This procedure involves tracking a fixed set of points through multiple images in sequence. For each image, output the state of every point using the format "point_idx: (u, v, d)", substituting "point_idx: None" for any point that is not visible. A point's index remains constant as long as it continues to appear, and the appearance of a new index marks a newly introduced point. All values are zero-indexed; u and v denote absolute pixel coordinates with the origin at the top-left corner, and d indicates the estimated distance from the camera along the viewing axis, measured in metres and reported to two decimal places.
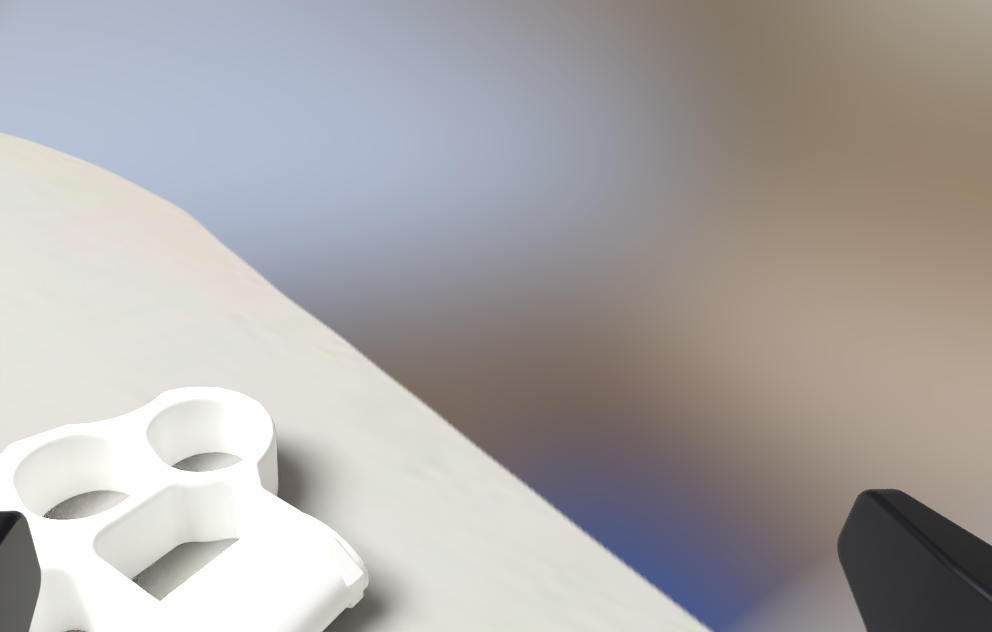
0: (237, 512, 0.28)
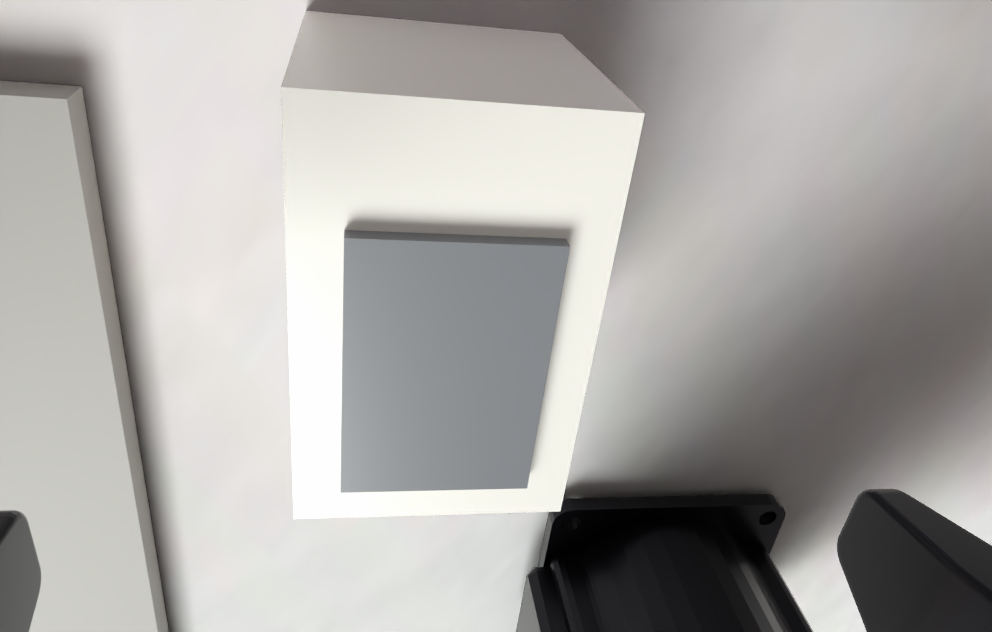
0: None
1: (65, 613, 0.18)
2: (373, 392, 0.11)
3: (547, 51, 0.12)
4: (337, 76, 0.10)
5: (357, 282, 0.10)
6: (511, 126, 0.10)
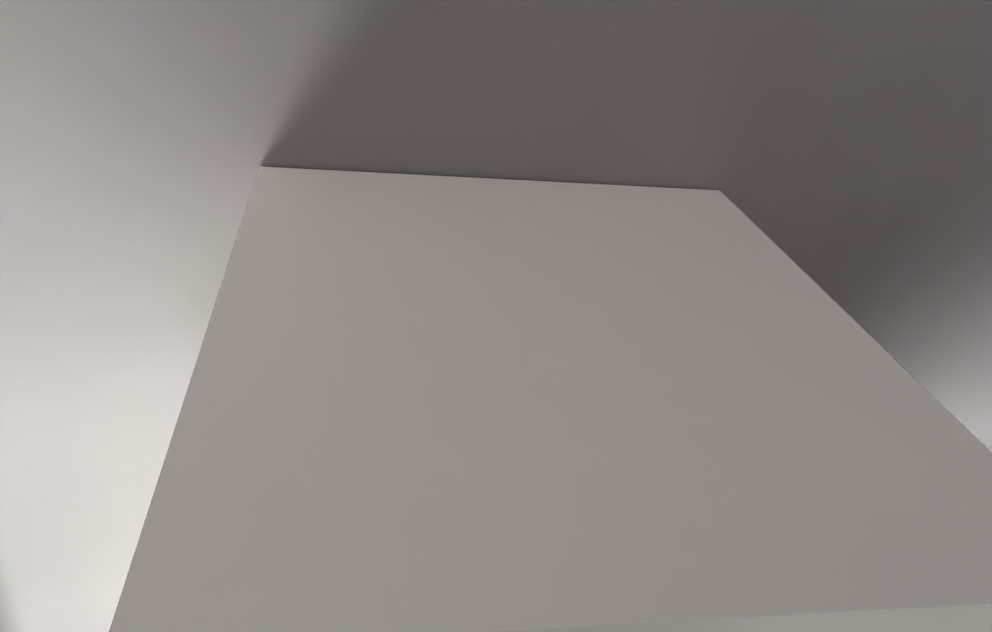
0: None
1: None
2: None
3: (735, 267, 0.06)
4: (295, 511, 0.03)
5: None
6: None
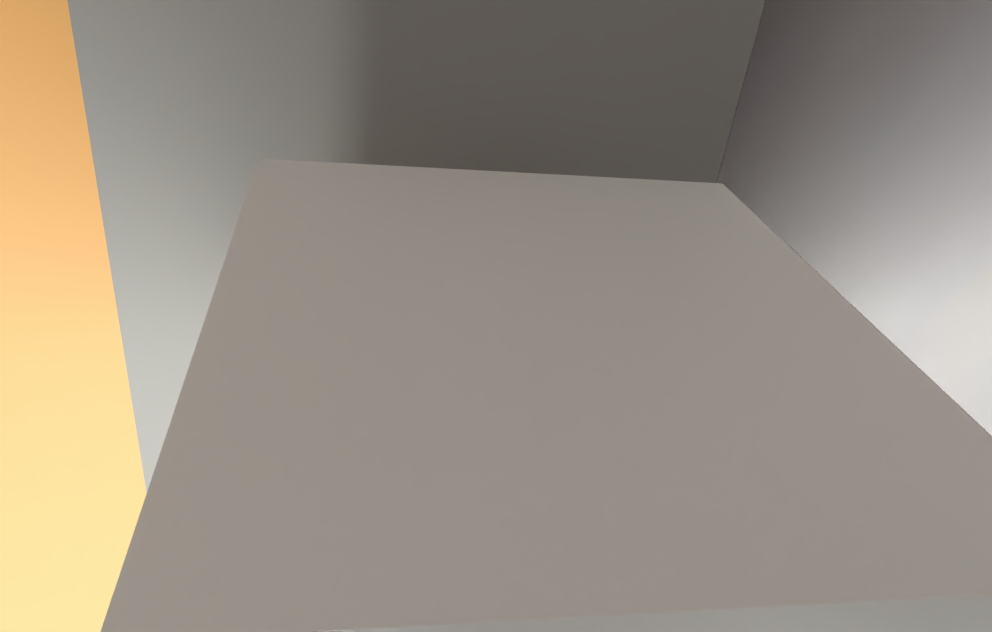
0: None
1: None
2: None
3: (738, 259, 0.06)
4: (295, 501, 0.03)
5: None
6: None
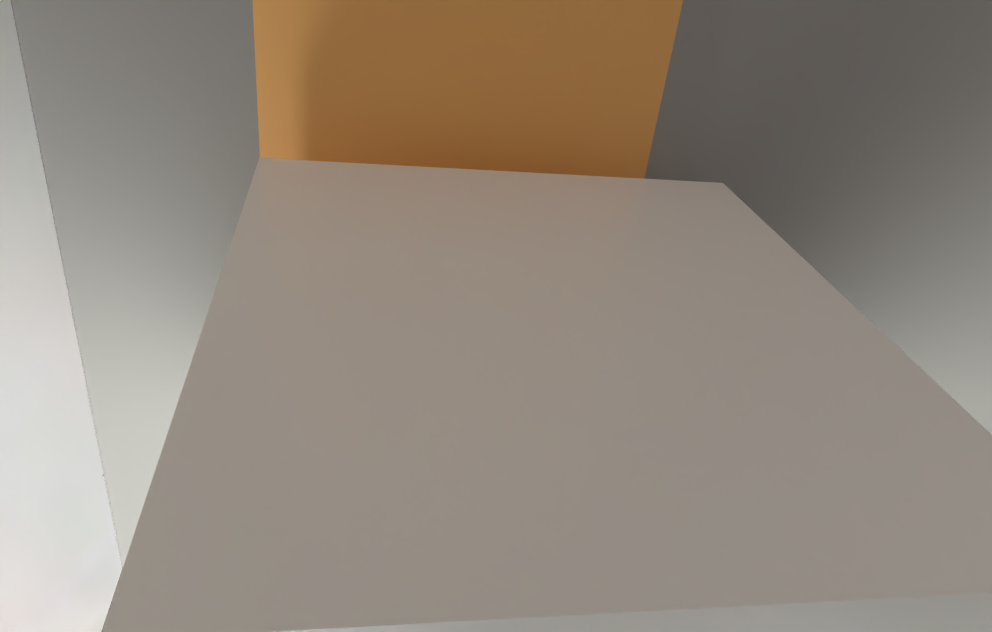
0: None
1: None
2: None
3: (738, 258, 0.06)
4: (295, 498, 0.03)
5: None
6: None
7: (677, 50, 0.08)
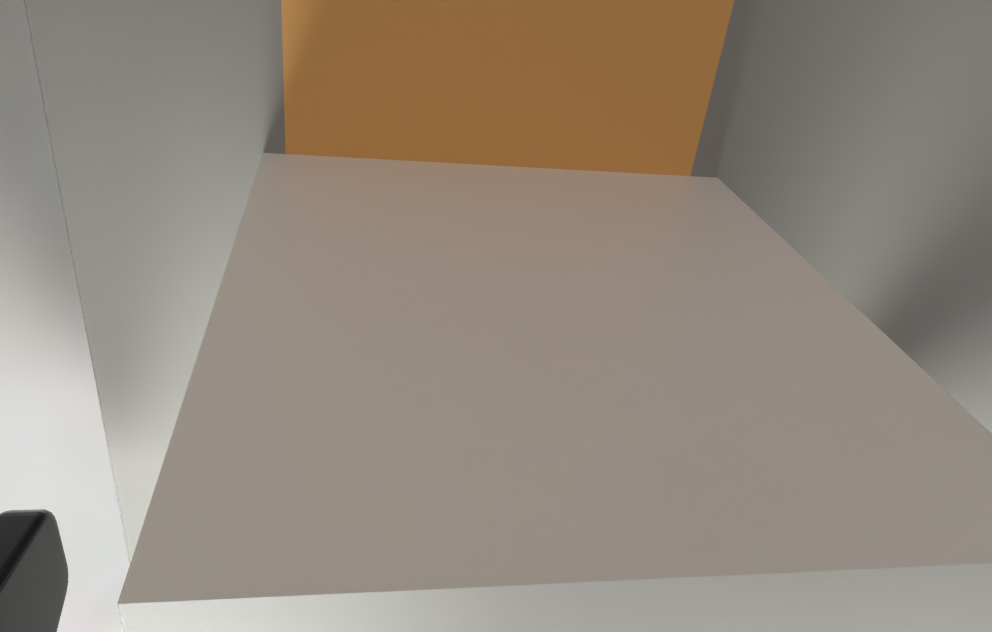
0: None
1: None
2: None
3: (731, 250, 0.06)
4: (303, 476, 0.04)
5: None
6: (780, 615, 0.04)
7: (724, 61, 0.07)
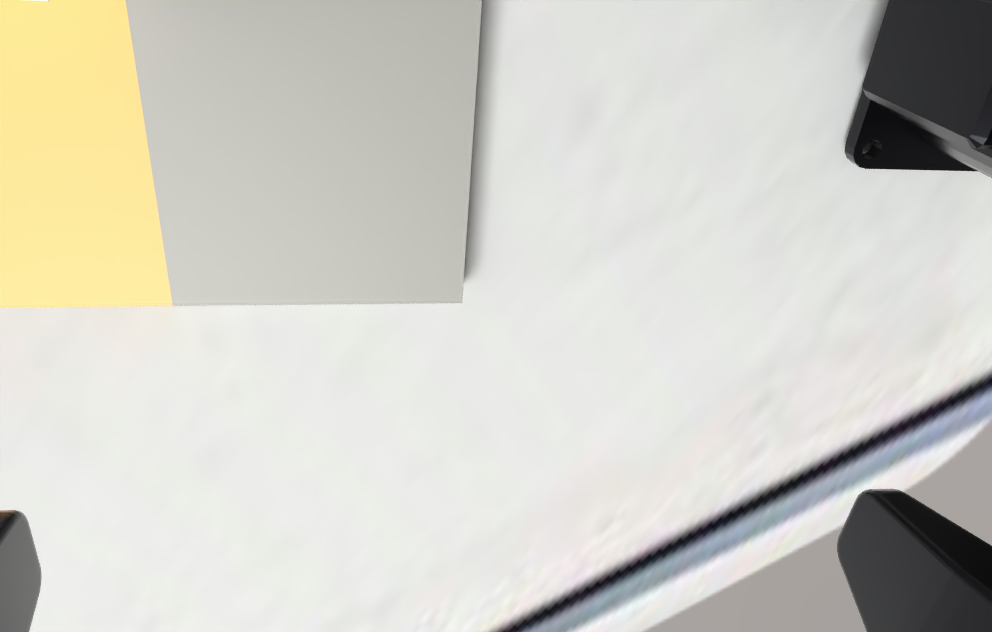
0: None
1: None
2: None
3: None
4: None
5: None
6: None
7: None
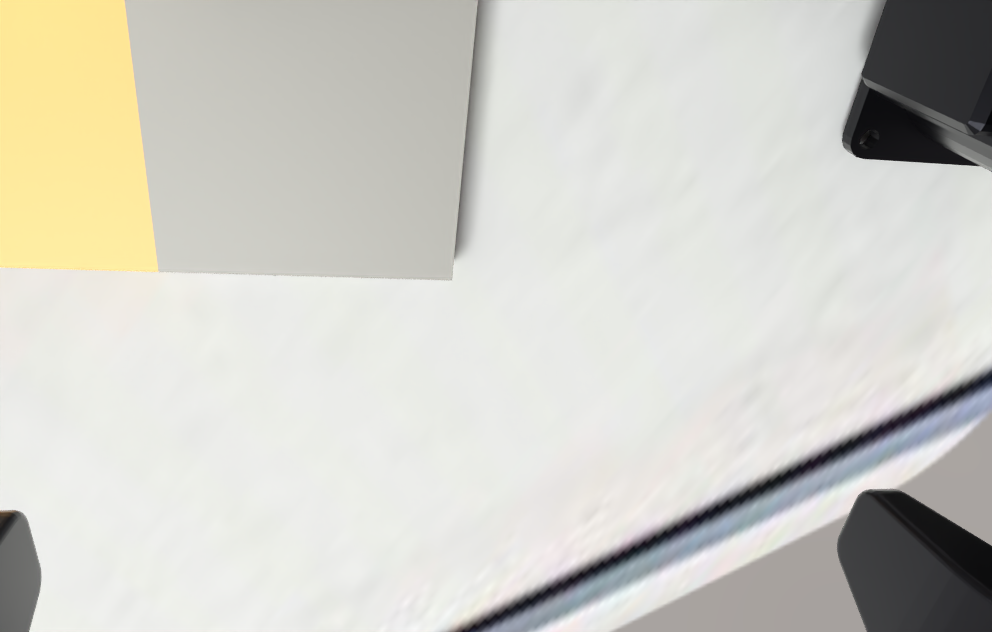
0: None
1: None
2: None
3: None
4: None
5: None
6: None
7: None
